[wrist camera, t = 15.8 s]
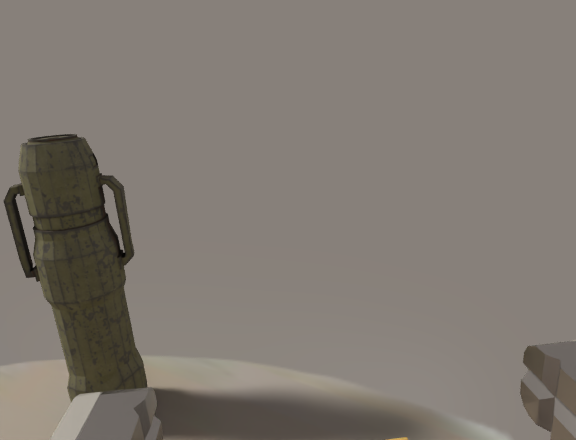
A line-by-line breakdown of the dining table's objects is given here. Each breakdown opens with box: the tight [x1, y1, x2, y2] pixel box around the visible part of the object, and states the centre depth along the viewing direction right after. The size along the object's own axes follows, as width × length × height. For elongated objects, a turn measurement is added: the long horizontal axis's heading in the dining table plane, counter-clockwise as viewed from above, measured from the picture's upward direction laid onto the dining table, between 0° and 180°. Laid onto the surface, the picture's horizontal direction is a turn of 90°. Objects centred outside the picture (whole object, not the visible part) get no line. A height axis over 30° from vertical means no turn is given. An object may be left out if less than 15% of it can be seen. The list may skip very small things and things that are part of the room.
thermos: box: [4, 134, 147, 402], centre depth 50 cm, size 9×12×35 cm
